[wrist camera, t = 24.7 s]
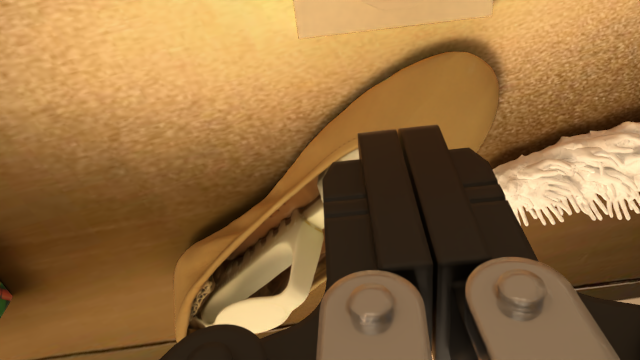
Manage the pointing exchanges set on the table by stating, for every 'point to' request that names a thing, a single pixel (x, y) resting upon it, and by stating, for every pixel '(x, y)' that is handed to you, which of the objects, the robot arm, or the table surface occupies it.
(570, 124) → the table surface
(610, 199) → the sculpture
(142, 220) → the table surface
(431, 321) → the robot arm
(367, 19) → the box
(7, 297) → the crayon box
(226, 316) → the ballet flat
